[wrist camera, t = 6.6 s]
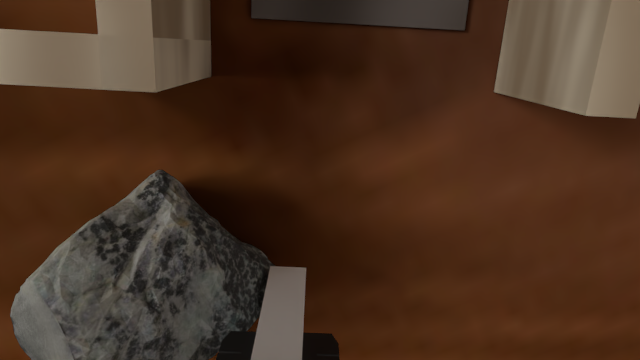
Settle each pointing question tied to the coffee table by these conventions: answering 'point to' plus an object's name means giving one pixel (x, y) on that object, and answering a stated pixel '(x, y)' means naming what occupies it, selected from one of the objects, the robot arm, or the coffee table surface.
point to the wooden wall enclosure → (347, 8)
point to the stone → (142, 284)
